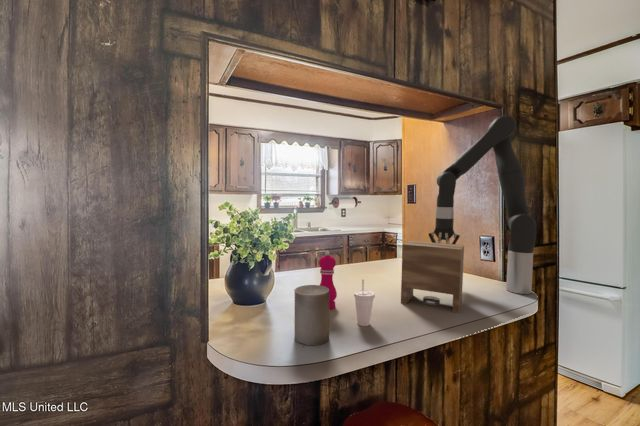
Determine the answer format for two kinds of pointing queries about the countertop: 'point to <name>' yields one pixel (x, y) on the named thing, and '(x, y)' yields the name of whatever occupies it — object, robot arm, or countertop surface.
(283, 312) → the countertop surface
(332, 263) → the pepper mill
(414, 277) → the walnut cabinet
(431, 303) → the steel puck
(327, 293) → the pillar candle
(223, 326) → the countertop surface
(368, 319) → the smoothie
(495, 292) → the countertop surface
